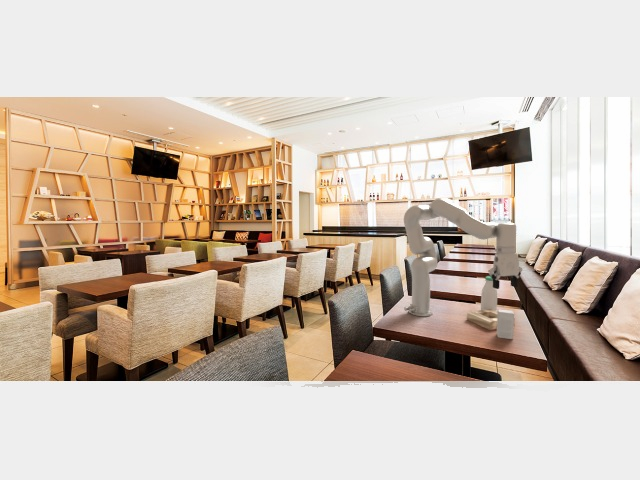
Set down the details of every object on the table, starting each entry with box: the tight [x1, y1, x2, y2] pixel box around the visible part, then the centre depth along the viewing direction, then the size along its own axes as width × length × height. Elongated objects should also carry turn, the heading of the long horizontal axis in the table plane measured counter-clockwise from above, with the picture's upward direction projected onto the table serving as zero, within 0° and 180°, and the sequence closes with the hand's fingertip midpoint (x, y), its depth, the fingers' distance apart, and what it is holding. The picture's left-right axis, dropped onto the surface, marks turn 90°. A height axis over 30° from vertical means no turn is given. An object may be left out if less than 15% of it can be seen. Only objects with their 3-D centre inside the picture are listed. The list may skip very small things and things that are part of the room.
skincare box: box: [496, 308, 515, 340], centre depth 135 cm, size 6×4×12 cm
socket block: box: [466, 309, 516, 331], centre depth 152 cm, size 16×14×4 cm
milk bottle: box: [480, 275, 498, 311], centre depth 166 cm, size 8×8×20 cm
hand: (505, 287), depth 136 cm, fingers open, 9 cm apart
